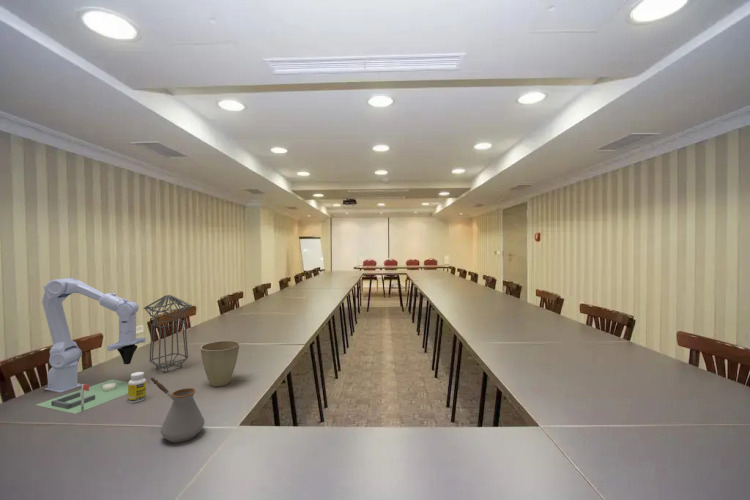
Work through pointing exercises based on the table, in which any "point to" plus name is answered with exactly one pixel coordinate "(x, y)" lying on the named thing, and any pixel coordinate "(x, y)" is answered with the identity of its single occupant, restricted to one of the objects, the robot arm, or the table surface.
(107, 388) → the stone
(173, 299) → the geometric lantern
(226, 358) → the plant pot
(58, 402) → the grey frame
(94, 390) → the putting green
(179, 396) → the coffee pot
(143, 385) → the supplement bottle
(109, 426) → the table surface
